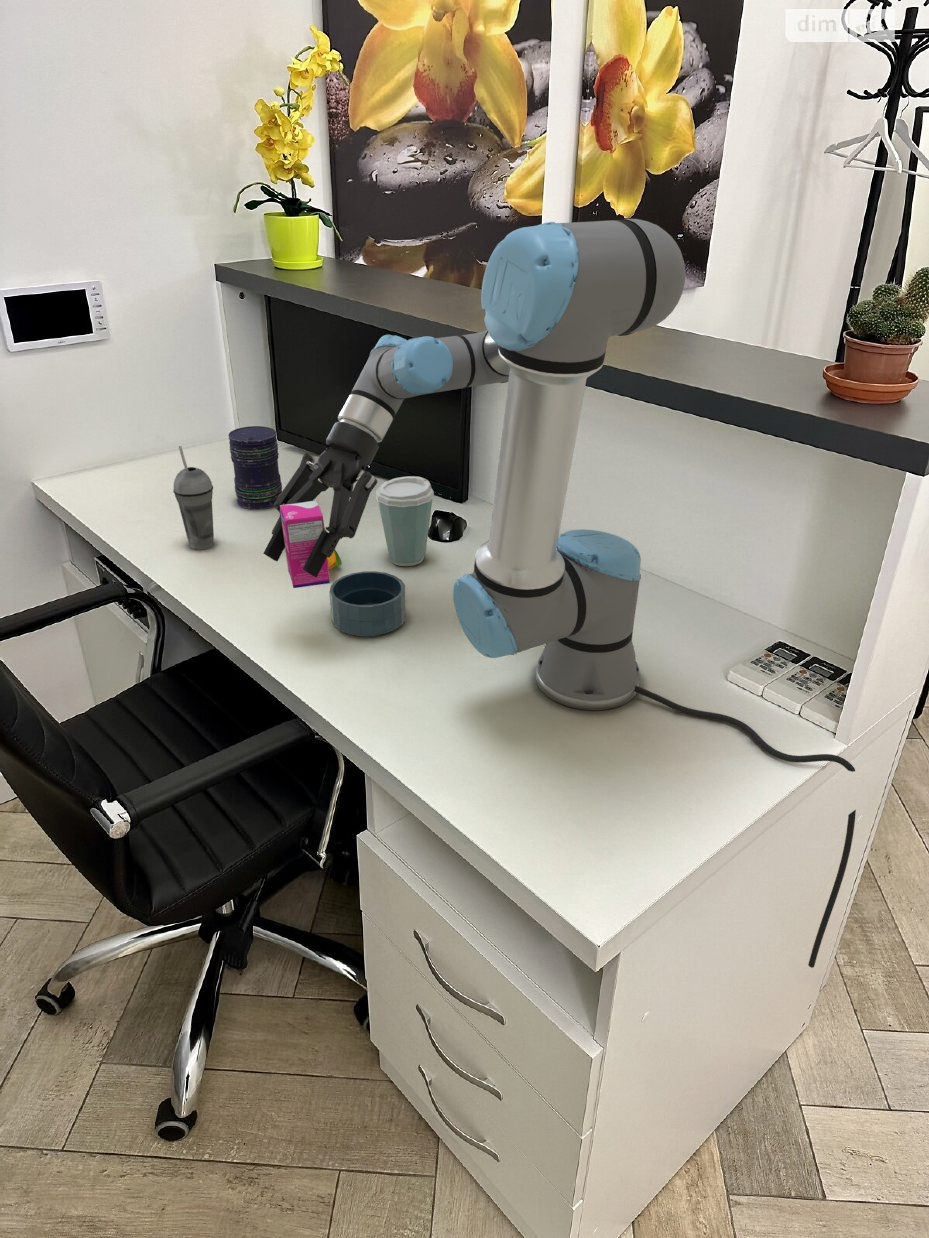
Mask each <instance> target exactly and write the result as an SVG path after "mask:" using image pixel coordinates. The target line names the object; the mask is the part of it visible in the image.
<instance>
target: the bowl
mask: <svg viewBox="0 0 929 1238" xmlns="http://www.w3.org/2000/svg"><path fill="white" fill-rule="evenodd" d="M328 593H329V605H330V616H331V617H330V619H331V621H332V622H331V623H332V624H333V626H334V627H335V628H336V629H338V630H339V631H341V632H343V633H345V634H348V635H351V636H356V637H357V636H358V637H377V636H381V635H384V634H385V635H386V634H388V633H390V632H393V631H395V630H397V629H398V628H399V627H401V626H402V625H403V624H404V623H405V621H406V618H407V606H406V605H407V603H406V600H407V599H406V585H405V583H404V582H403V580H402V579H401V578H399V577H397V576H396V575H394V574H391V573H389V572H384V571H376V570H371V571H370V570H369V571H366V570H365V571H364V570H363V571H358V572H357V571H356V572H352V573H348V574H345V575H343V576H341V577H339V578H337V579H336V580H334V582H333V583H332V584H331V585H330V587H329V592H328Z"/></svg>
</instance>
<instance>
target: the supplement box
mask: <svg viewBox="0 0 929 1238" xmlns="http://www.w3.org/2000/svg"><path fill="white" fill-rule="evenodd" d="M280 511H281V518H282V527H283V535H284V542H285V548H284V550H285V558H286V565H287V572H288V575H289V577H290V580H291V584H292V588H293V589H298V588H306V587H312V586H320V585H321V586H322V585H328V584H331V579H330V569H328V559H327V558H326V560H325V562H324V564H323V566H322V568H321V570H320V572H319V574H318V576H317V578H316V577H314V576H312V575H310V574H309V573H307V572H306V571H304V570H303V567H304V565H305V563H306V561H307V560H308V558H309V556H310V554H311V552H312V550H313V548H314V546H315V544H316V542H317V540H318V538H319V536H320V534H321V532H322V530H324V528H325V523H324V522H325V520H324V514H323V512H322V509H321V507H320V505H319V503H318V500H313V501H309V502H303V503H295V504H287V505H280ZM324 531H325V530H324Z"/></svg>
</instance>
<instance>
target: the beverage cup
mask: <svg viewBox="0 0 929 1238" xmlns="http://www.w3.org/2000/svg"><path fill="white" fill-rule="evenodd" d="M178 450H179V453H180V454H179V455H180V457H181V460H182V465H183V467H184V468H182V469H181V470H179V472H178V473H177V474H176V476H175V478H174V479H173V491H172V492H173V494H174V498H175V500H176V502H177V504H178V507H179V512H180V516H181V518H182V523H183V527H184V531H185V534H186V535H185V536H186V538H187V540H188V541H187V542H188V544H189V547H190V549H192V550H198V551H200V550H206V549H207V550H208V549H209V548H212V547H213V546H214V545H215V541H214V540H215V539H214V537H215V533H214V514H213V513H214V512H213V492H214V491H213V490H214V485H213V483H212V480H211V478H210V476H209V475H208V474H207V473H206V471H204V470H203V469H201V468H199V467H195V466H188V465H187V461H186V458H185V455H184V451H183V447H182V445H178Z"/></svg>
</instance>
